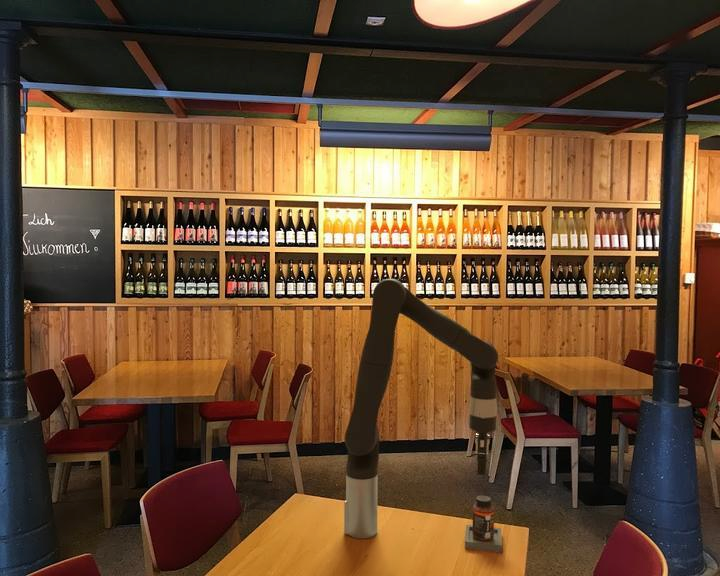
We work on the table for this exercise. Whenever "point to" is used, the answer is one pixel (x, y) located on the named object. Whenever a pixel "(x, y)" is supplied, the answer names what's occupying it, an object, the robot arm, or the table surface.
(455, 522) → the table surface
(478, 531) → the supplement bottle
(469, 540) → the gray square tray
